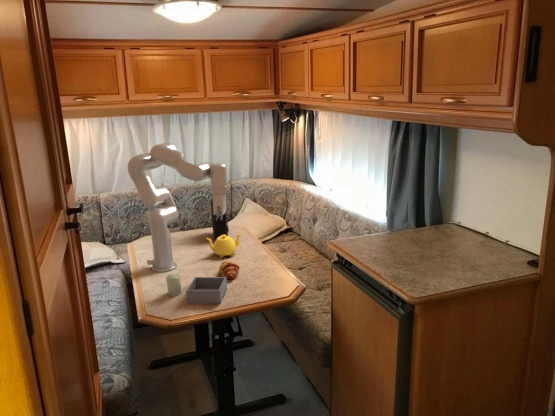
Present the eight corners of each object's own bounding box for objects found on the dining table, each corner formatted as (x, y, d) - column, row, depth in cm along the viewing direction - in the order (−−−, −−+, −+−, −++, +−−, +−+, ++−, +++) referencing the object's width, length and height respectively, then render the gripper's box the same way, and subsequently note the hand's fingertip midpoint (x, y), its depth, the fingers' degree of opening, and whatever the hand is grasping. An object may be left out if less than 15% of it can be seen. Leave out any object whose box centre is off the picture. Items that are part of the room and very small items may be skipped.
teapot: (238, 247, 267) (236, 228, 264) (245, 255, 253) (244, 235, 250) (204, 253, 260) (202, 233, 257) (210, 261, 246) (208, 241, 244)
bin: (187, 303, 198) (186, 290, 196) (196, 289, 212) (194, 277, 210) (220, 303, 196) (219, 290, 195) (227, 289, 211) (226, 277, 209)
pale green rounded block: (166, 296, 206) (164, 279, 204) (170, 290, 212) (168, 274, 210) (179, 296, 205) (177, 279, 203) (183, 290, 211) (181, 274, 209)
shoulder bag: (210, 232, 297) (207, 190, 290) (224, 231, 299) (221, 189, 292) (215, 243, 276) (212, 198, 269) (230, 241, 278) (227, 196, 271)
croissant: (221, 273, 239) (213, 261, 237) (238, 262, 240) (230, 250, 237) (227, 288, 219) (218, 275, 216) (244, 277, 220) (236, 264, 217)
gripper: (214, 186, 224) (216, 220, 228) (207, 194, 207) (210, 230, 211) (229, 186, 223) (231, 220, 228) (224, 194, 207) (226, 230, 211)
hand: (221, 225), depth 219 cm, fingers open, 9 cm apart
